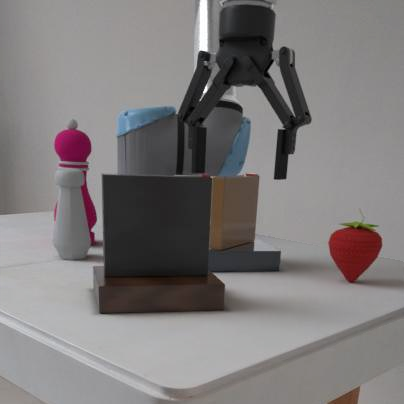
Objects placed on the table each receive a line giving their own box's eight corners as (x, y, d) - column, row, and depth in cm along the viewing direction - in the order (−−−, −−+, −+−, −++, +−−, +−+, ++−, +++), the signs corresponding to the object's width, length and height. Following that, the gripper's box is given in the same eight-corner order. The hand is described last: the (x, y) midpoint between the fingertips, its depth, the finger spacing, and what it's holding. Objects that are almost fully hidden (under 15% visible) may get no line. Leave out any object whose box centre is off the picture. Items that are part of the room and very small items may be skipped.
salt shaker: (56, 261, 84) (52, 169, 79) (50, 254, 89) (45, 167, 84) (95, 260, 86) (93, 170, 81) (87, 252, 91) (84, 167, 86)
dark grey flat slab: (105, 276, 64) (102, 172, 59) (103, 272, 65) (101, 171, 61) (208, 275, 66) (212, 175, 62) (203, 271, 68) (208, 174, 64)
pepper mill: (88, 248, 94) (84, 118, 87) (48, 244, 96) (40, 116, 88) (103, 241, 101) (101, 120, 94) (65, 238, 102) (60, 118, 95)
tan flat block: (220, 250, 82) (225, 176, 78) (209, 248, 83) (212, 175, 79) (254, 240, 90) (259, 173, 87) (243, 239, 91) (248, 173, 88)
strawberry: (317, 276, 82) (325, 206, 79) (366, 276, 83) (376, 207, 80) (332, 286, 77) (341, 211, 73) (383, 286, 78) (396, 212, 74)
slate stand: (201, 271, 82) (202, 251, 81) (187, 257, 91) (187, 239, 90) (279, 271, 84) (281, 251, 83) (257, 257, 93) (259, 239, 92)
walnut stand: (99, 313, 61) (98, 286, 60) (93, 289, 70) (92, 265, 69) (223, 310, 64) (225, 284, 63) (203, 287, 73) (204, 264, 72)
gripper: (348, 7, 72) (327, 181, 80) (184, 20, 84) (180, 170, 91) (328, -6, 66) (308, 183, 74) (155, 9, 78) (153, 171, 85)
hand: (237, 176), depth 83 cm, fingers open, 13 cm apart
